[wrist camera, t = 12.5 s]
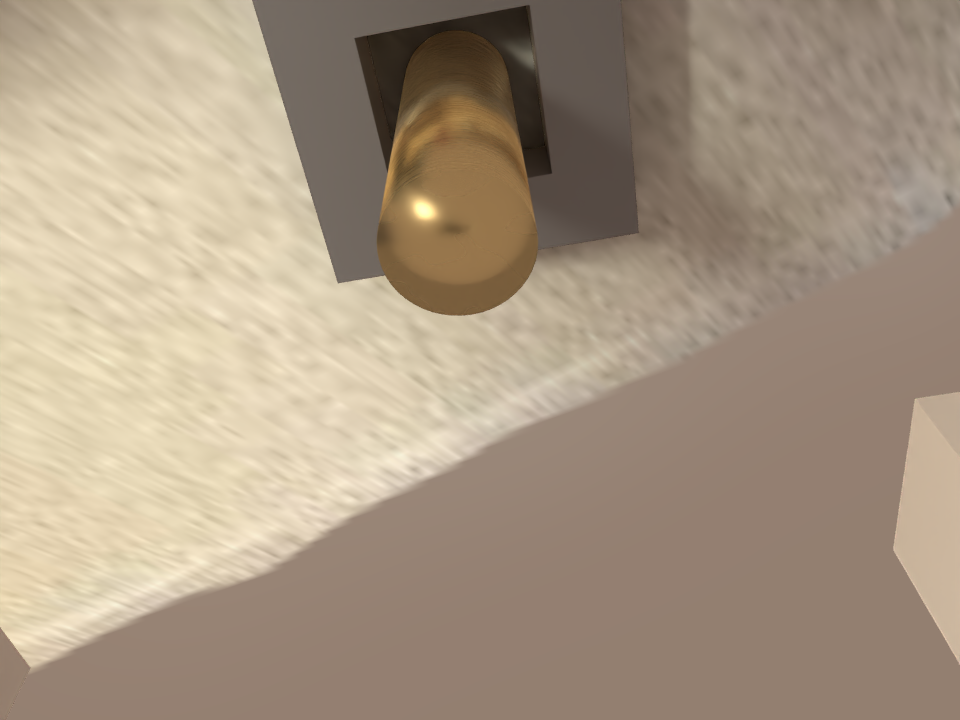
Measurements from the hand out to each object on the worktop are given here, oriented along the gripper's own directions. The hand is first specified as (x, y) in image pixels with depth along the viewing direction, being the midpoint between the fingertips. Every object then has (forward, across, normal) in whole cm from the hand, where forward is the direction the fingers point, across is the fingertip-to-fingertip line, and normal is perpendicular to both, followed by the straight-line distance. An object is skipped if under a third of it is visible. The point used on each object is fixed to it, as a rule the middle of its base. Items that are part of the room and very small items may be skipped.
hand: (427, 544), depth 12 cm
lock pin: (+25, 0, -1) cm, 25 cm away
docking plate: (+25, 0, -1) cm, 25 cm away
